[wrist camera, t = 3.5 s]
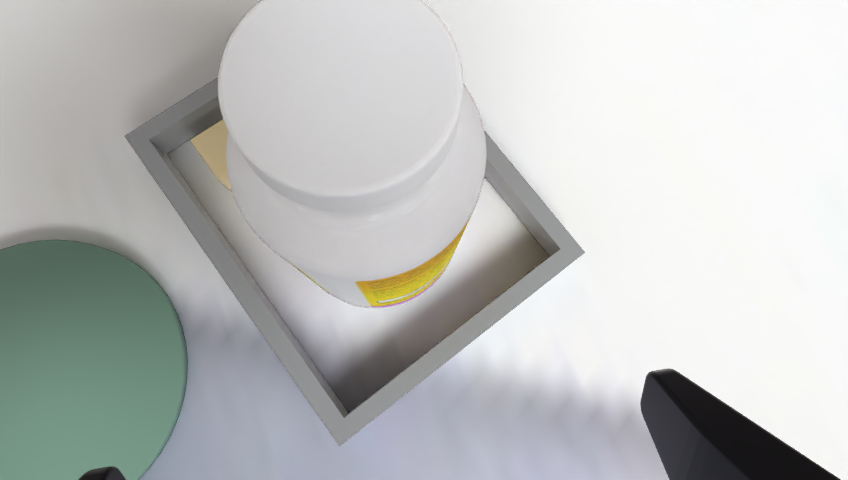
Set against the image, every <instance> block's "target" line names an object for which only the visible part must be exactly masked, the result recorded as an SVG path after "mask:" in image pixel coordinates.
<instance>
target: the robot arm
mask: <svg viewBox="0 0 848 480" xmlns="http://www.w3.org/2000/svg"><path fill="white" fill-rule="evenodd" d="M641 411H642V415H643V417H644V420H645V422H646V425H647V427H648V429H649V432H650V434H651V437H652V439H653V441H654V444H655V446H656V449H657V451H658V453H659V456H660V458H661V461H662V463H663V465H664V468H665V470H666V473H667V475H668V477H669V480H840V479H839V478H837V477H836V476H834V475H833V474H831V473H830V472H828V471H827V470H825V469H824V468H822V467H821V466H819V465H818V464H816V463H815V462H813V461H812V460H810V459H809V458H807V457H806V456H804V455H803V454H801V453H800V452H798V451H797V450H795V449H794V448H792V447H791V446H789V445H788V444H786V443H785V442H783V441H781V440H780V439H778V438H777V437H775V436H774V435H772V434H771V433H769V432H768V431H766V430H765V429H763V428H762V427H760V426H759V425H757V424H756V423H754V422H753V421H751V420H750V419H748V418H747V417H745V416H744V415H742V414H741V413H739V412H738V411H736V410H735V409H733V408H732V407H730V406H729V405H727V404H726V403H724V402H723V401H721V400H720V399H718V398H717V397H715V396H713V395H712V394H710V393H709V392H707V391H706V390H704V389H703V388H701V387H700V386H698V385H697V384H695V383H694V382H692V381H691V380H689V379H688V378H686V377H685V376H683V375H682V374H680V373H679V372H677V371H675V370H673V369H662V370H656V371H651V372H649V373H648V374H647V376H646V380H645V384H644V389H643V393H642V398H641ZM78 480H126V479H125V477H124V476H123V474H122V473H121V471H120V470H119V469H118V468H117V467H114V466H108V467H103V468H97V469H92V470H89V471H87V472H86V473H84V474H83V475H82V476H81V477H80V478H79V479H78Z"/></svg>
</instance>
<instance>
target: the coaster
mask: <svg viewBox="0 0 848 480" xmlns="http://www.w3.org/2000/svg"><path fill="white" fill-rule="evenodd" d="M187 367H188V359H187V349H186V341H185V337H184V333H183V329H182V325H181V323H180V320H179V318H178V315H177V312H176V310H175V308H174V306H173V305H172V303H171V301H170V299H169V298H168V296H167V294H166V293H165V292H164V291H163V289H162V288H161V287H160V285H159V284H158V283H157V282H156V281H155V280H154V279H153V278H152V277H151V276H150V275H149V274H148V273H147V272H146V271H145V270H143V269H142V268H141V267H139V266H138V265H136V264H135V263H134V262H132V261H130V260H128V259H127V258H125V257H123V256H121V255H119V254H117V253H114V252H111V251H109V250H106V249H103V248H100V247H97V246H94V245H91V244H86V243H81V242H76V241H65V240H45V241H35V242H29V243H23V244H18V245H15V246H12V247H8V248H5V249H2V250H0V480H78V479H79V478H80V477H81V476H82V475H83V474H84V473H86V472H87V471H89V470H92V469H97V468H103V467H108V466H114V467H117V468H118V469H119V470H120V471H121V473H122V474H123V476H124V477H125V479H126V480H139V479H140V478H141V477H142V476H143V474H144V473H145V472H146V471H147V470H148V469H149V468H150V466H151V465H152V464H153V462H154V461H155V460H156V458H157V457H158V456H159V454H160V453H161V451H162V450H163V448H164V446H165V444H166V443H167V441H168V439H169V437H170V436H171V433H172V431H173V429H174V426H175V424H176V422H177V419H178V417H179V414H180V410H181V407H182V403H183V400H184V395H185V389H186V383H187Z"/></svg>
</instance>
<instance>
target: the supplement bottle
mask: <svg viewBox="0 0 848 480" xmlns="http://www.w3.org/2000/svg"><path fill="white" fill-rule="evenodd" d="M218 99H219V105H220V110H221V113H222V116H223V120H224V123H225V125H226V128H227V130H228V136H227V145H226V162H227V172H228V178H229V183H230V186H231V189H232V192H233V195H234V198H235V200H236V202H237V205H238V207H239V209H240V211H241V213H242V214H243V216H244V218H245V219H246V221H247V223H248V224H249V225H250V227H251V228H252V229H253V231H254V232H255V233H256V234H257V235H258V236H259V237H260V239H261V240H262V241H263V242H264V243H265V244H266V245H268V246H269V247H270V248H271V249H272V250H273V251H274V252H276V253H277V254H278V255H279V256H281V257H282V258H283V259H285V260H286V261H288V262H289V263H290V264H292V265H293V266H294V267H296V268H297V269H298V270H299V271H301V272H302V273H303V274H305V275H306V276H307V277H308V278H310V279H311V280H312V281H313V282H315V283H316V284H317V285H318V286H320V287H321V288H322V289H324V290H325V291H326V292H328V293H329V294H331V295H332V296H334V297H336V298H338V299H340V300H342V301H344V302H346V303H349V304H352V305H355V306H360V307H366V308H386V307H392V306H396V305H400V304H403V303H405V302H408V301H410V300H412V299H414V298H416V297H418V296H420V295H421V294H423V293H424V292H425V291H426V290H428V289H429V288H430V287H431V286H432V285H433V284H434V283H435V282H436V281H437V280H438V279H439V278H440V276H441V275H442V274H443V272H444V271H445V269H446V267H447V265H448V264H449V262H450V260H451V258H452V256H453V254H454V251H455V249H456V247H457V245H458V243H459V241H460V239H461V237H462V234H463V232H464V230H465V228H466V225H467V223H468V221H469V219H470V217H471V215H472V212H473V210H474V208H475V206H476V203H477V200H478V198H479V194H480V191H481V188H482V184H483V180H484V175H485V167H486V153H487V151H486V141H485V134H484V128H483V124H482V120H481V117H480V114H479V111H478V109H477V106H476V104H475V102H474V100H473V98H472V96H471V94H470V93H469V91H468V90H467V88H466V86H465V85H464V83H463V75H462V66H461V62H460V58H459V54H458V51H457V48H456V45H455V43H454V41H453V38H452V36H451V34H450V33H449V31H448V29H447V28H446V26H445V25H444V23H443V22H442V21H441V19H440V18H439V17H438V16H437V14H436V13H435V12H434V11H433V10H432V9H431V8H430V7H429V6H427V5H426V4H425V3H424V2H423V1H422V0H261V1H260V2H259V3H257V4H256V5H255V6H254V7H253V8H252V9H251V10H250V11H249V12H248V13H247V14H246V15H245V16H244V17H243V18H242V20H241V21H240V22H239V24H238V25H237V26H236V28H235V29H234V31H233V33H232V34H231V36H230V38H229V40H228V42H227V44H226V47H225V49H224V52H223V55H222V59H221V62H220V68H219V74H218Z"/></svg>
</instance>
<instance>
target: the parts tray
mask: <svg viewBox="0 0 848 480" xmlns="http://www.w3.org/2000/svg"><path fill="white" fill-rule="evenodd" d="M222 118H223V116H222V113H221V110H220V105H219V99H218V78H217V79H215V80H213V81H212V82H210V83H209V84H207V85H205V86H204V87H202V88H201V89H199V90H197V91H196V92H194V93H193V94H191V95H189V96H188V97H186V98H185V99H183V100H181V101H180V102H178V103H177V104H175V105H173V106H172V107H170V108H169V109H167V110H165V111H164V112H162V113H161V114H159V115H157V116H156V117H154V118H153V119H151V120H149V121H148V122H146V123H145V124H143V125H141V126H140V127H138V128H137V129H135V130H133V131H132V132H130V133H129V134H127V135H125V138H126V139H127V140H128V142H129V143H130V145H131V146H132V148H133V149H134V151H135V152H136V153H137V155H138V156H139V158H140V159H141V161H142V162H143V164H144V165H145V166H146V168H147V169H148V171H149V172H150V174H151V175H152V176H153V178H154V179H155V181H156V182H157V184H158V185H159V187H160V188H161V189H162V191H163V192H164V194H165V195H166V197H167V198H168V200H169V201H170V202H171V204H172V205H173V207H174V208H175V210H176V211H177V213H178V214H179V215H180V217H181V218H182V220H183V221H184V223H185V224H186V226H187V227H188V228H189V230H190V231H191V233H192V234H193V236H194V237H195V239H196V240H197V241H198V243H199V244H200V246H201V247H202V249H203V250H204V252H205V253H206V254H207V256H208V257H209V259H210V260H211V262H212V263H213V265H214V266H215V267H216V269H217V270H218V272H219V273H220V275H221V276H222V278H223V279H224V280H225V282H226V283H227V285H228V286H229V288H230V289H231V291H232V292H233V293H234V295H235V296H236V298H237V299H238V301H239V302H240V304H241V305H242V306H243V308H244V309H245V311H246V312H247V314H248V315H249V317H250V318H251V319H252V321H253V322H254V324H255V325H256V327H257V328H258V330H259V331H260V332H261V334H262V335H263V337H264V338H265V340H266V341H267V343H268V344H269V345H270V347H271V348H272V350H273V351H274V353H275V354H276V356H277V357H278V358H279V360H280V361H281V363H282V364H283V366H284V367H285V369H286V370H287V371H288V373H289V374H290V376H291V377H292V379H293V380H294V382H295V383H296V384H297V386H298V387H299V389H300V390H301V392H302V393H303V395H304V396H305V397H306V399H307V400H308V402H309V403H310V405H311V406H312V408H313V409H314V410H315V412H316V413H317V415H318V416H319V418H320V419H321V421H322V422H323V423H324V425H325V426H326V428H327V429H328V431H329V432H330V434H331V435H332V436H333V438H334V439H335V441H336V442H337V444H338V445H339V446H341V445H342V444H343V443H344V442H346V441H347V440H348V439H349V438H351V437H352V436H353V435H355V434H356V433H357V432H358V431H360V430H361V429H362V428H363V427H365V426H366V425H367V424H368V423H370V422H371V421H372V420H374V419H375V418H376V417H377V416H379V415H380V414H381V413H382V412H384V411H385V410H386V409H387V408H389V407H390V406H391V405H392V404H394V403H395V402H396V401H398V400H399V399H400V398H401V397H403V396H404V395H405V394H406V393H408V392H409V391H410V390H411V389H413V388H414V387H415V386H417V385H418V384H419V383H420V382H422V381H423V380H424V379H425V378H427V377H428V376H429V375H430V374H432V373H433V372H434V371H436V370H437V369H438V368H439V367H441V366H442V365H443V364H444V363H446V362H447V361H448V360H449V359H451V358H452V357H453V356H454V355H456V354H457V353H458V352H460V351H461V350H462V349H463V348H465V347H466V346H467V345H468V344H470V343H471V342H472V341H473V340H475V339H476V338H477V337H479V336H480V335H481V334H482V333H484V332H485V331H486V330H487V329H489V328H490V327H491V326H492V325H494V324H495V323H496V322H498V321H499V320H500V319H501V318H503V317H504V316H505V315H506V314H508V313H509V312H510V311H511V310H513V309H514V308H515V307H517V306H518V305H519V304H520V303H522V302H523V301H524V300H525V299H527V298H528V297H529V296H530V295H532V294H533V293H534V292H535V291H537V290H538V289H539V288H541V287H542V286H543V285H544V284H546V283H547V282H548V281H549V280H551V279H552V278H553V277H554V276H556V275H557V274H558V273H560V272H561V271H562V270H563V269H565V268H566V267H567V266H568V265H570V264H571V263H572V262H573V261H575V260H576V259H577V258H579V257H580V256H581V255H582V254H584V253H585V252H584V251H583V249H582V248H581V247H580V246H579V245H578V243H577V242H576V241H575V240H574V239H573V237H572V236H571V235H570V234H569V232H568V231H567V230H566V229H565V228H564V226H563V225H562V224H561V223H560V222H559V220H558V219H557V218H556V217H555V216H554V214H553V213H552V212H551V211H550V209H549V208H548V207H547V206H546V205H545V203H544V202H543V201H542V200H541V199H540V197H539V196H538V195H537V194H536V193H535V191H534V190H533V189H532V188H531V186H530V185H529V184H528V183H527V182H526V180H525V179H524V178H523V177H522V176H521V174H520V173H519V172H518V171H517V170H516V168H515V167H514V166H513V165H512V164H511V162H510V161H509V160H508V159H507V157H506V156H505V155H504V154H503V153H502V151H501V150H500V149H499V148H498V147H497V145H496V144H495V143H494V142H493V141H492V139H491V138H490V137H489V136H488V134H487V133H486V132H485V131H484V134H485V141H486V151H487V153H486V167H485V175H484V176H485V177H486V179H487V180H488V181H489V182H490V183H491V185H492V186H493V187H494V188H495V190H496V191H497V192H498V193H499V195H500V196H501V197H502V198H503V199H504V201H505V202H506V203H507V204H508V206H509V207H510V208H511V209H512V211H513V212H514V213H515V214H516V215H517V217H518V218H519V219H520V220H521V222H522V223H523V224H524V225H525V227H526V228H527V229H528V230H529V231H530V233H531V234H532V235H533V236H534V238H535V239H536V240H537V241H538V243H539V244H540V245H541V246H542V247H543V249H544V250H545V251H546V252H547V254H548V255H549V257H548V258H547V259H545V260H544V261H543V262H541V263H540V264H539V265H538V266H536V267H535V268H534V269H532V270H531V271H530V272H529V273H527V274H526V275H525V276H523V277H522V278H521V279H520V280H518V281H517V282H516V283H514V284H513V285H512V286H511V287H509V288H508V289H507V290H506V291H504V292H503V293H502V294H500V295H499V296H498V297H497V298H495V299H494V300H493V301H491V302H490V303H489V304H488V305H486V306H485V307H484V308H482V309H481V310H480V311H479V312H477V313H476V314H475V315H473V316H472V317H471V318H470V319H468V320H467V321H466V322H465V323H463V324H462V325H461V326H459V327H458V328H457V329H456V330H454V331H453V332H452V333H450V334H449V335H448V336H447V337H445V338H444V339H443V340H441V341H440V342H439V343H438V344H436V345H435V346H434V347H432V348H431V349H430V350H429V351H427V352H426V353H425V354H424V355H422V356H421V357H420V358H418V359H417V360H416V361H415V362H413V363H412V364H411V365H409V366H408V367H407V368H406V369H404V370H403V371H402V372H400V373H399V374H398V375H397V376H395V377H394V378H393V379H391V380H390V381H389V382H388V383H386V384H385V385H384V386H382V387H381V388H380V389H379V390H377V391H376V392H375V393H374V394H372V395H371V396H370V397H368V398H367V399H366V400H365V401H363V402H362V403H361V404H359V405H358V406H357V407H356V408H354V409H353V410H352V411H350V412H349V413H348V412H347V410H346V409H345V408H344V406H343V405H342V403H341V402H340V400H339V399H338V398H337V396H336V395H335V393H334V392H333V390H332V389H331V388H330V386H329V385H328V383H327V382H326V380H325V379H324V378H323V376H322V375H321V373H320V372H319V371H318V369H317V368H316V366H315V365H314V363H313V362H312V361H311V359H310V358H309V356H308V355H307V353H306V352H305V351H304V349H303V348H302V346H301V345H300V344H299V342H298V341H297V339H296V338H295V336H294V335H293V334H292V332H291V331H290V329H289V328H288V326H287V325H286V324H285V322H284V321H283V319H282V318H281V317H280V315H279V314H278V312H277V311H276V309H275V308H274V307H273V305H272V304H271V302H270V301H269V299H268V298H267V297H266V295H265V294H264V292H263V291H262V289H261V288H260V287H259V285H258V284H257V282H256V281H255V280H254V278H253V277H252V275H251V274H250V272H249V271H248V270H247V268H246V267H245V265H244V264H243V262H242V261H241V260H240V258H239V257H238V255H237V254H236V253H235V251H234V250H233V248H232V247H231V245H230V244H229V243H228V241H227V240H226V238H225V237H224V235H223V234H222V233H221V231H220V230H219V228H218V227H217V225H216V224H215V223H214V221H213V220H212V218H211V217H210V216H209V214H208V213H207V211H206V210H205V208H204V207H203V206H202V204H201V203H200V201H199V200H198V198H197V197H196V196H195V194H194V193H193V191H192V190H191V189H190V187H189V186H188V184H187V183H186V181H185V180H184V179H183V177H182V176H181V174H180V173H179V171H178V170H177V169H176V167H175V166H174V164H173V163H172V161H171V160H170V159H169V157H168V156H167V153H169V152H171V151H172V150H174V149H175V148H177V147H178V146H180V145H181V144H183V143H185V142H186V141H188V140H189V139H191V138H192V137H194V136H196V135H197V134H199V133H200V132H202V131H203V130H205V129H206V128H208V127H210V126H211V125H213V124H214V123H216V122H217V121H219V120H221V119H222ZM227 136H228V130H227V128H226V125H225V123H224V120H223V119H222V120H221V121H219V122H218V123H216V124H215V125H213V126H211V127H210V128H208V129H207V130H205V131H204V132H202V133H201V134H199V135H197V136H196V137H194V138H193V139H191V140H190V141H191V143H192V144H193V146H194V147H195V148H196V150H197V151H198V153H199V154H200V155H201V157H202V158H203V159H204V161H205V162H206V164H207V165H208V166H209V168H210V169H211V171H212V172H213V173H214V175H215V176H216V178H217V179H218V180H219V181H221V182H222V183H223V184H224V185H225V186H226V187H227V188H228V189H229V190H231V186H230V183H229V178H228V172H227V162H226V145H227Z"/></svg>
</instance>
